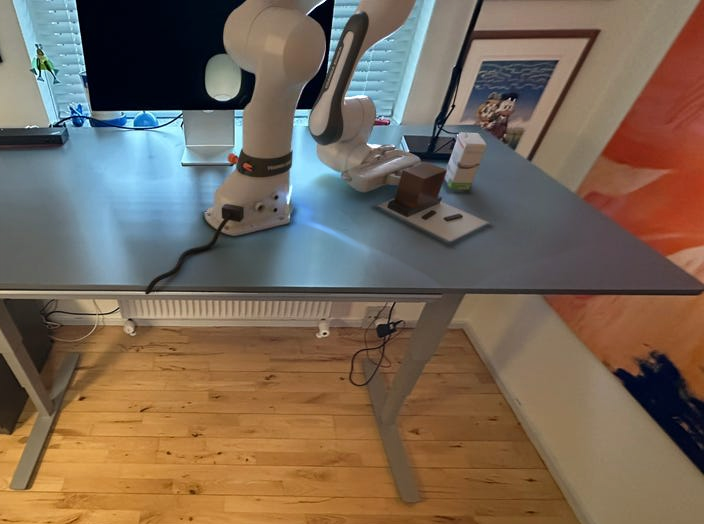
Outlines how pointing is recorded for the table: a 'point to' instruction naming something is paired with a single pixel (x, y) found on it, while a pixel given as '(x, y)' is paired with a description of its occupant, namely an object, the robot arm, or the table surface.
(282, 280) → the table surface
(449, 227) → the whiteboard
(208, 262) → the table surface
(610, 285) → the table surface
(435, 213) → the marker stroke
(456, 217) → the bar
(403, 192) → the eraser
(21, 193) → the table surface
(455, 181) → the ink box
